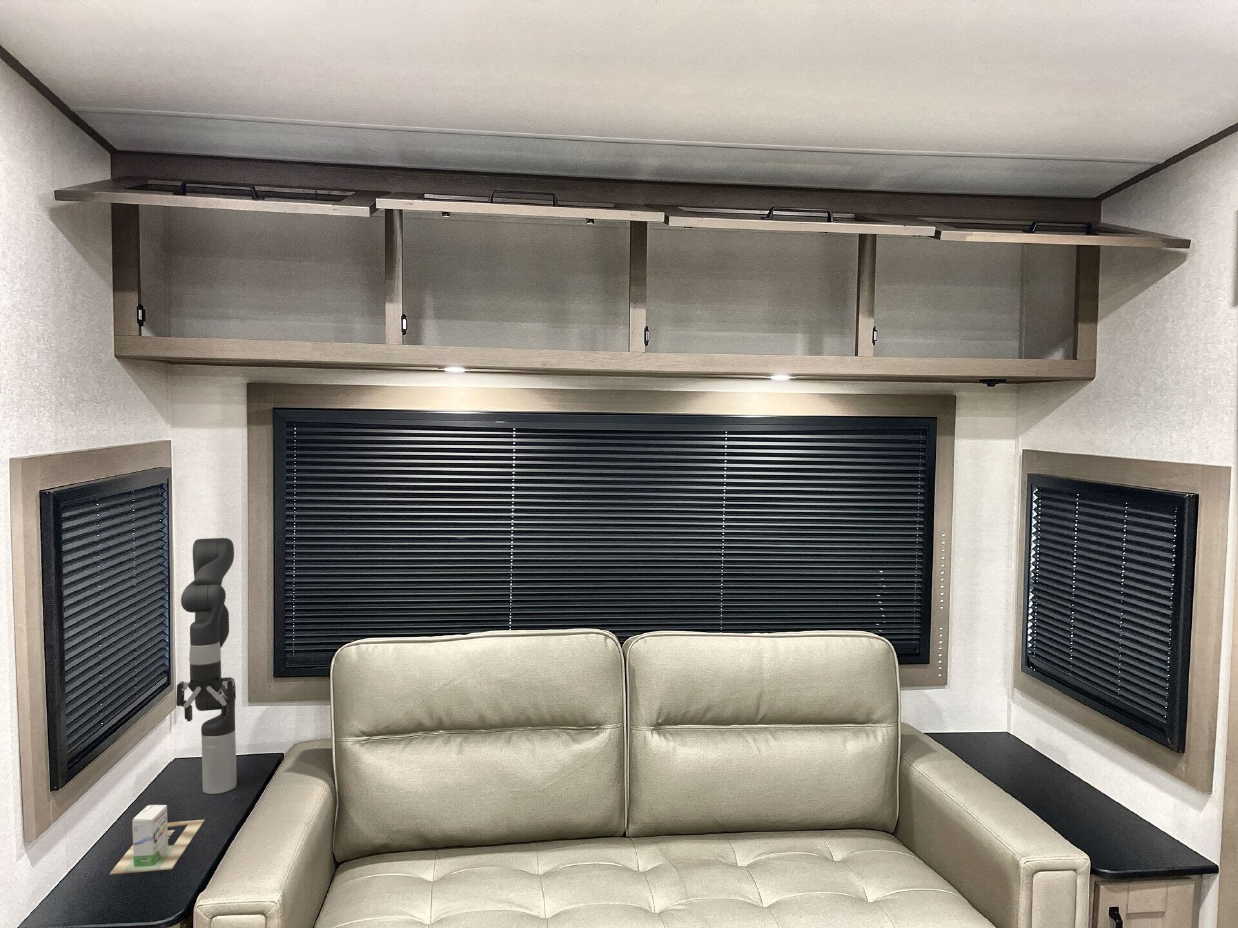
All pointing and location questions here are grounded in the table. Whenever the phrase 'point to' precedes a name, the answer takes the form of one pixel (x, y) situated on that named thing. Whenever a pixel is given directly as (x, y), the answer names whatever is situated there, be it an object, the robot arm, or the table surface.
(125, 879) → the table surface
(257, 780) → the table surface
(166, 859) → the beige rectangular frame
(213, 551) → the robot arm
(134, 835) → the ink box
